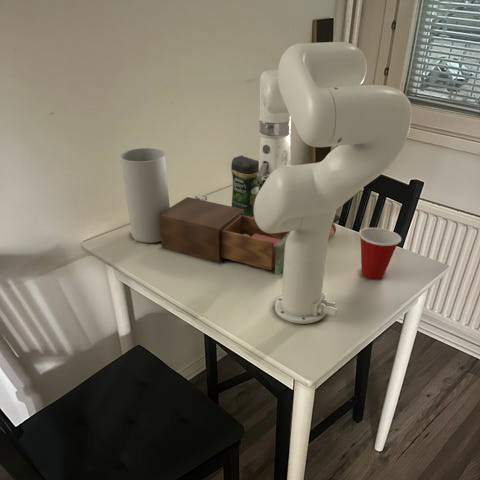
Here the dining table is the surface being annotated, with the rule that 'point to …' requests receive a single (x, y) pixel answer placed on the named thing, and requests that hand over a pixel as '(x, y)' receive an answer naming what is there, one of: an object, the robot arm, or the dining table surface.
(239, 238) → the drawer
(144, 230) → the cylinder vase
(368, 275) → the plastic cup
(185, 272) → the dining table surface
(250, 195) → the coffee jar
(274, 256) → the pink block on ball
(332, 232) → the figurine character
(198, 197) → the soldier figure
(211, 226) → the cabinet
